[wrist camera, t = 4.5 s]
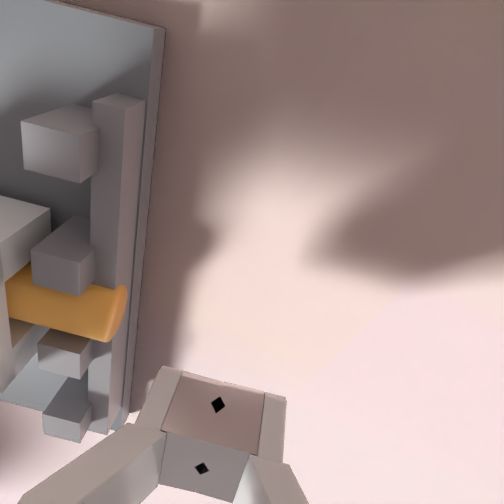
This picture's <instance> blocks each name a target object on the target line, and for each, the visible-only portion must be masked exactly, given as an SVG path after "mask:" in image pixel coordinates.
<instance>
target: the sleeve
mask: <svg viewBox="0 0 504 504" xmlns="http://www.w3.org/2000/svg"><path fill="white" fill-rule="evenodd" d="M50 234H51V216H50V208H47V207H43V206H40V205H36V204H32V203H28V202H24V201H20V200H16V199H13V198H9V197H5V196H1V195H0V395H1V394H2V393H3V392H4V390H5V389H6V388H7V387H8V386H9V385H10V383H11V382H12V381H13V380H14V379H15V377H16V376H17V375H18V374H19V373H20V371H21V370H22V369H23V368H24V367H25V366H26V364H27V363H28V362H29V361H30V360H31V358H32V357H33V356H34V355H35V354H36V353H37V351H38V350H37V343H38V342H39V340H40V339H41V338H42V337H43V336H44V335H45V333H46V332H47V331H48V330H49V329H50V328H48V327H44V326H41V325H37V324H33V323H29V322H25V321H21V320H18V319H14V318H10V317H8V308H7V300H6V291H5V282H6V281H7V280H8V279H9V278H11V277H12V276H13V275H14V274H15V273H17V272H18V271H19V270H20V269H21V268H23V267H24V266H25V265H26V264H27V263H29V262H30V261H31V255H30V250H31V249H32V248H33V247H34V246H36V245H37V244H38V243H39V242H41V241H42V240H43V239H45V238H46V237H47V236H48V235H50Z"/></svg>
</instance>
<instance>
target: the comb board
mask: <svg viewBox="0 0 504 504" xmlns="http://www.w3.org/2000/svg"><path fill="white" fill-rule="evenodd" d="M165 32H166V28H162V27H158V26H154V25H150V24H146V23H142V22H139V21H135V20H131V19H127V18H123V17H119V16H115V15H111V14H107V13H103V12H100V11H96V10H92V9H88V8H84V7H80V6H76V5H72V4H68V3H64V2H61V1H57V0H0V195H1V196H5V197H9V198H13V199H16V200H20V201H24V202H28V203H32V204H36V205H40V206H43V207H47V208H50V216H51V234H50V235H48V236H47V237H46V238H45V239H43V240H42V241H41V242H39V243H38V244H37V245H36V246H34V247H33V248H32V249H31V250H30V255H31V261H30V262H29V263H27V264H26V265H25V266H24V267H23V268H21V269H20V270H19V271H18V272H17V273H15V274H14V275H13V276H12V277H11V278H9V279H8V280H7V281H6V282H5V291H6V300H7V308H8V317H10V318H14V319H18V320H21V321H25V322H29V323H33V324H37V325H41V326H44V327H48V328H50V329H49V330H48V331H47V332H46V333H45V335H44V336H43V337H42V338H41V339H40V340H39V342H38V343H37V350H38V351H37V353H36V354H35V355H34V356H33V357H32V358H31V360H30V361H29V362H28V363H27V364H26V366H25V367H24V368H23V369H22V370H21V371H20V373H19V374H18V375H17V376H16V377H15V379H14V380H13V381H12V382H11V383H10V385H9V386H8V387H7V388H6V389H5V390H4V392H3V393H2V394H1V395H0V400H1V401H5V402H8V403H12V404H16V405H20V406H24V407H27V408H31V409H35V410H39V411H43V414H42V418H43V431H44V434H46V435H50V436H54V437H58V438H62V439H65V440H69V441H73V442H77V443H80V442H81V440H82V439H83V437H84V435H85V433H86V432H87V430H89V431H93V432H97V433H101V434H104V435H107V434H108V432H109V430H110V429H111V430H115V431H117V430H118V429H119V428H121V427H122V426H124V424H125V422H126V420H127V418H128V415H129V408H130V397H131V387H132V376H133V366H134V356H135V345H136V335H137V324H138V314H139V303H140V293H141V282H142V272H143V262H144V251H145V241H146V230H147V220H148V209H149V199H150V189H151V178H152V168H153V157H154V147H155V136H156V126H157V116H158V105H159V95H160V84H161V74H162V63H163V53H164V43H165Z"/></svg>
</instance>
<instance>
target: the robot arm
mask: <svg viewBox="0 0 504 504" xmlns="http://www.w3.org/2000/svg"><path fill="white" fill-rule="evenodd" d="M286 403H287V401H286V398H285V397H283V396H279V395H275V394H271V393H267V392H264V391H260V390H256V389H252V388H248V387H244V386H240V385H236V384H232V383H228V382H221V381H218V380H214V379H211V378H207V377H204V376H200V375H197V374H193V373H190V372H186V371H182V370H178V369H175V368H171V367H168V366H164V365H162V367H161V368H160V369H159V371H158V373H157V375H156V377H155V379H154V382H153V384H152V386H151V388H150V391H149V393H148V395H147V397H146V400H145V402H144V404H143V406H142V408H141V411H140V413H139V415H138V417H137V420H136V422H135V424H131V423H127V424H125V425H124V426H122V427H121V428H119V429H118V430H117V431H115V432H114V433H112V434H111V435H109V436H108V437H106V438H105V439H103V440H102V441H101V442H99V443H98V444H96V445H95V446H93V447H92V448H90V449H89V450H87V451H86V452H85V453H83V454H82V455H80V456H79V457H77V458H76V459H74V460H73V461H71V462H70V463H69V464H67V465H66V466H64V467H63V468H61V469H60V470H58V471H57V472H55V473H54V474H52V475H51V476H50V477H48V478H47V479H45V480H44V481H42V482H41V483H39V484H38V485H36V486H35V487H34V488H32V489H31V490H29V491H28V492H26V493H25V494H23V496H22V497H21V499H20V500H19V502H18V504H140V503H141V502H142V501H143V500H144V499H145V498H146V497H147V496H148V495H149V494H150V493H151V492H152V491H153V490H154V489H155V488H156V487H157V486H158V484H162V485H166V486H170V487H175V488H179V489H183V490H188V491H192V492H196V493H200V494H203V495H206V496H210V497H213V498H217V499H220V500H224V501H227V502H230V503H232V504H309V503H308V501H307V499H306V497H305V495H304V493H303V491H302V489H301V487H300V485H299V483H298V481H297V479H296V477H295V475H294V473H293V471H292V469H291V467H290V465H288V464H285V463H283V449H284V434H285V419H286Z"/></svg>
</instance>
